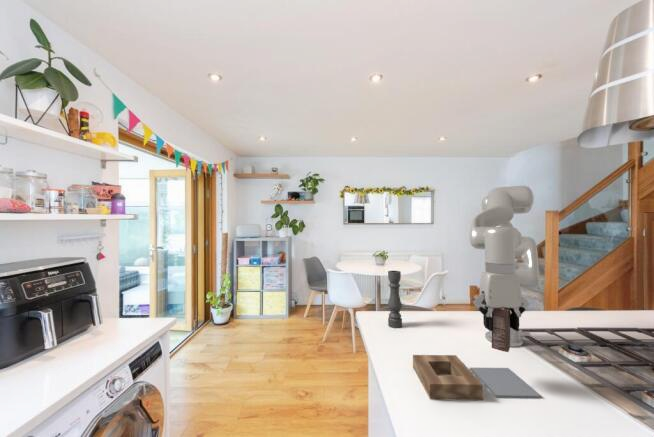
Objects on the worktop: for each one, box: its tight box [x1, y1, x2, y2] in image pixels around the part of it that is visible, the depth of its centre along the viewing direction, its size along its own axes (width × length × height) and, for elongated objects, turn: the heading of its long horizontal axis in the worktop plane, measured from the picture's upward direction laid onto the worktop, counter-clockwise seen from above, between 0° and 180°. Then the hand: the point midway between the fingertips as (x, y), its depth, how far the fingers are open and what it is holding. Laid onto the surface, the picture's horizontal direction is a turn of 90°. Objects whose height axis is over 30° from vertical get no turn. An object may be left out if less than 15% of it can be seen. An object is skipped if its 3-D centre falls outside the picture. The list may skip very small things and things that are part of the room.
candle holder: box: [387, 270, 403, 329], centre depth 124 cm, size 6×6×25 cm
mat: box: [469, 367, 543, 399], centre depth 79 cm, size 12×14×1 cm
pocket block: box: [412, 354, 484, 401], centre depth 79 cm, size 14×16×4 cm
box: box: [491, 308, 511, 353], centre depth 79 cm, size 6×4×12 cm
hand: (501, 328), depth 79 cm, fingers closed on box, 6 cm apart
